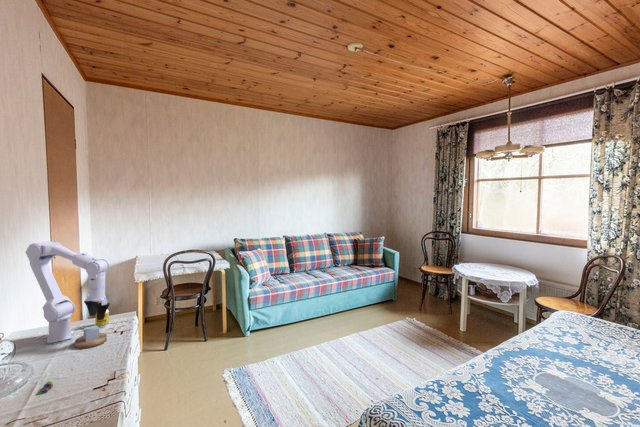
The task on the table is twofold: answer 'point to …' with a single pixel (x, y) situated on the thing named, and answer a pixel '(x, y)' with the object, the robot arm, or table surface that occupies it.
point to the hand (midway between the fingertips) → (96, 317)
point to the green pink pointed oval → (45, 388)
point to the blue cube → (91, 333)
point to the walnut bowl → (90, 342)
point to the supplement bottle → (103, 320)
